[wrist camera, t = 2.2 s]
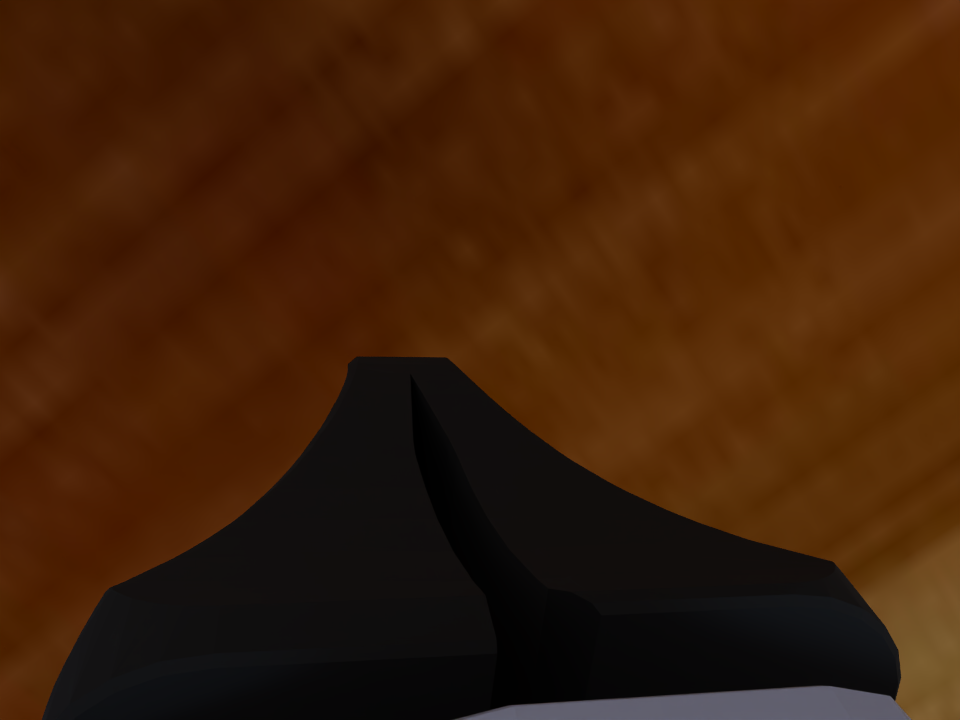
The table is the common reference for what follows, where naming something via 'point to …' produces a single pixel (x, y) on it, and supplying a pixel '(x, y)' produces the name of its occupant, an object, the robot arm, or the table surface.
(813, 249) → the table surface
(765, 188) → the table surface
